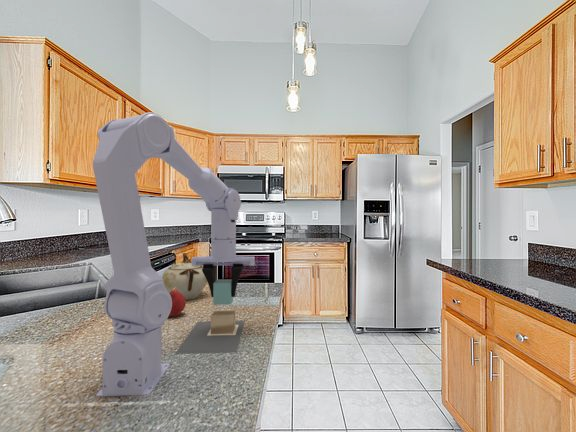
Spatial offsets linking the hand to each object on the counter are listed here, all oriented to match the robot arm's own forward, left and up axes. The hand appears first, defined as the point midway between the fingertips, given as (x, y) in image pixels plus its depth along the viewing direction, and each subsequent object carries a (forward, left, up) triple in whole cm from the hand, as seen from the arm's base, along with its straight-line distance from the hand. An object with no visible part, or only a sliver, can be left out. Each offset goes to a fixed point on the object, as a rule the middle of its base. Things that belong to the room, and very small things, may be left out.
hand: (223, 296), depth 71 cm
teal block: (0, 0, -2) cm, 2 cm away
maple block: (0, 0, -8) cm, 8 cm away
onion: (+11, +15, -9) cm, 21 cm away
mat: (-3, +2, -9) cm, 9 cm away
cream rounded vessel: (+32, +18, -9) cm, 38 cm away
